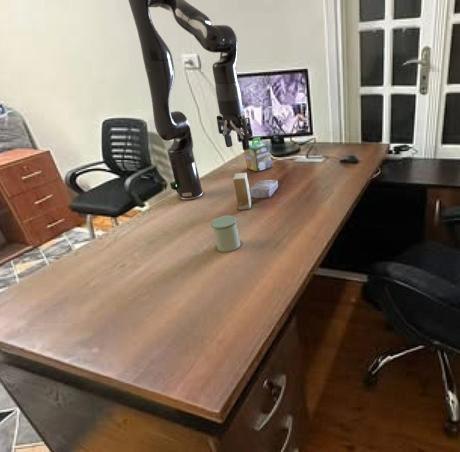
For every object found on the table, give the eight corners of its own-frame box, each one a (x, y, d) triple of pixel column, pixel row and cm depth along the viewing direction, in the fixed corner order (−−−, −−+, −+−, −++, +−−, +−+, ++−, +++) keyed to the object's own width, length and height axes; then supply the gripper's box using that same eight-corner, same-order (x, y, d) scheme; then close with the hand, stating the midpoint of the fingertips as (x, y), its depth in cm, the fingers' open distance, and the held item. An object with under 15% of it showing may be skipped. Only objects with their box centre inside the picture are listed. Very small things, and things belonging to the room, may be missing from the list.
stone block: (248, 202, 139) (271, 197, 136) (244, 190, 137) (267, 186, 134) (259, 191, 149) (280, 187, 146) (255, 180, 147) (277, 176, 144)
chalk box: (261, 163, 176) (257, 134, 170) (272, 166, 171) (268, 136, 164) (246, 168, 171) (241, 138, 164) (257, 172, 165) (253, 141, 158)
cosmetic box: (240, 203, 134) (234, 173, 128) (251, 202, 134) (246, 171, 129) (238, 210, 128) (232, 179, 123) (250, 209, 129) (244, 177, 123)
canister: (211, 247, 106) (205, 223, 102) (230, 237, 111) (225, 213, 107) (226, 254, 102) (221, 229, 98) (246, 243, 107) (241, 219, 103)
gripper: (253, 96, 109) (260, 148, 117) (224, 95, 117) (232, 143, 125) (234, 100, 104) (243, 154, 112) (205, 98, 112) (215, 148, 120)
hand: (237, 148), depth 118 cm, fingers open, 8 cm apart
